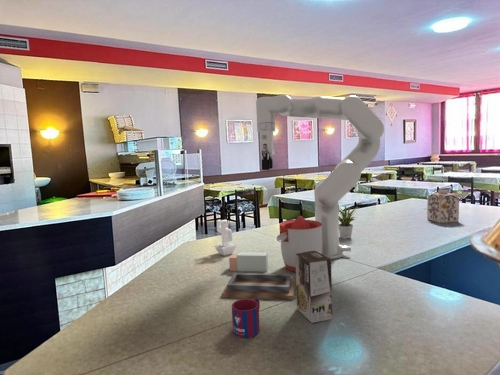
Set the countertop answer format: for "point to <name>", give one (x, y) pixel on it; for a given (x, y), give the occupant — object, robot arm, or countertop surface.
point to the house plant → (346, 223)
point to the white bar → (249, 261)
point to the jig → (260, 286)
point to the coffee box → (314, 286)
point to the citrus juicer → (299, 239)
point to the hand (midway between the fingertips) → (267, 169)
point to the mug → (246, 317)
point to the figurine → (225, 238)
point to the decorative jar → (443, 207)
